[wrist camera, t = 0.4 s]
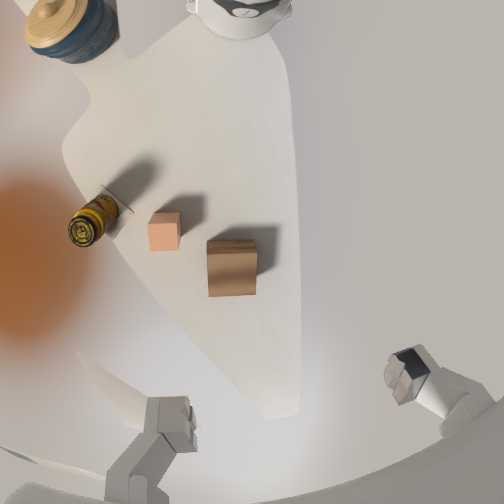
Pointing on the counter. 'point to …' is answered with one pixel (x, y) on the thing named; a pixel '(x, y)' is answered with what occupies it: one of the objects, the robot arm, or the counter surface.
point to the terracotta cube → (164, 231)
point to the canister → (70, 29)
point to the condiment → (98, 219)
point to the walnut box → (231, 268)
